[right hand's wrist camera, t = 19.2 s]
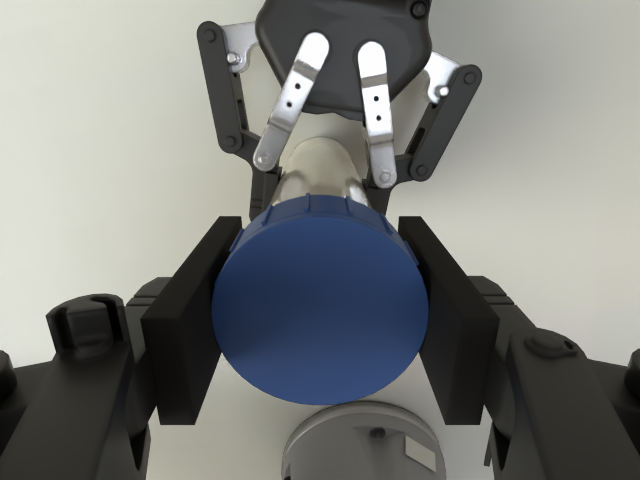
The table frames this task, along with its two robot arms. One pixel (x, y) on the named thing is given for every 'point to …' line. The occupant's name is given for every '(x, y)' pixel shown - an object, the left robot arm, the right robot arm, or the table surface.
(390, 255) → the lid
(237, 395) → the table surface
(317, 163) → the tube
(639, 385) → the right robot arm
